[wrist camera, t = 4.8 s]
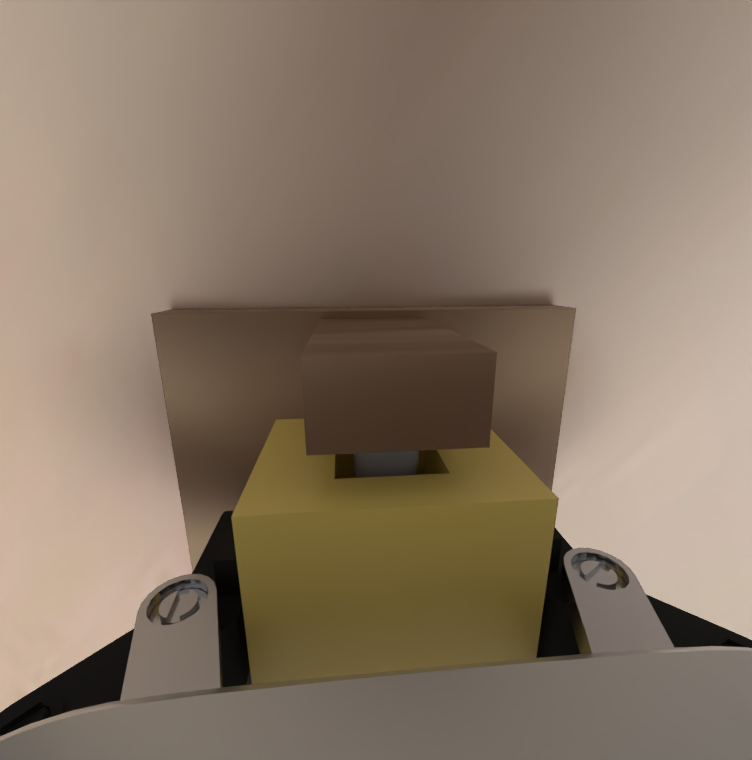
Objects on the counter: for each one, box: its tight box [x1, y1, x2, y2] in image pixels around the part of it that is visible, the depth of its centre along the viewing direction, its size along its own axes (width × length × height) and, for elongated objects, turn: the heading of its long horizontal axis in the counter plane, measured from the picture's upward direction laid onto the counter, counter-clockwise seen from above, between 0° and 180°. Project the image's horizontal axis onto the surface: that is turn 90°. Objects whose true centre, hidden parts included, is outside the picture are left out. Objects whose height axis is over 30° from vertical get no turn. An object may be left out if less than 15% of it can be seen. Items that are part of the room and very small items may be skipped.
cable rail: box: [151, 305, 576, 571], centre depth 12 cm, size 24×12×7 cm, turn 0°
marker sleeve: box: [231, 419, 559, 684], centre depth 9 cm, size 6×5×4 cm
